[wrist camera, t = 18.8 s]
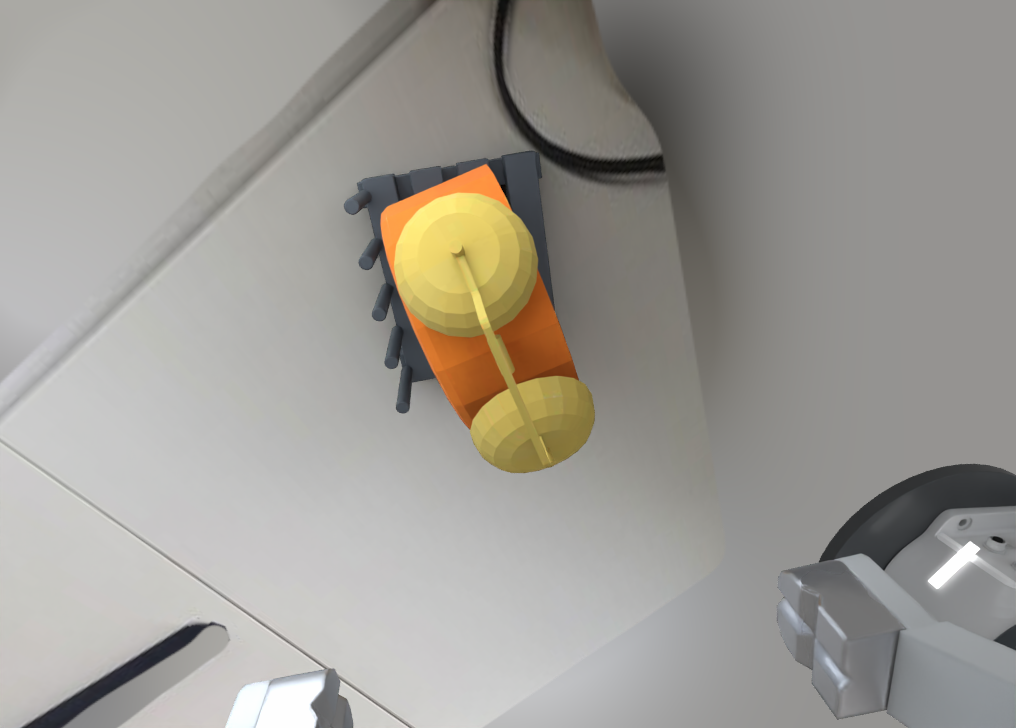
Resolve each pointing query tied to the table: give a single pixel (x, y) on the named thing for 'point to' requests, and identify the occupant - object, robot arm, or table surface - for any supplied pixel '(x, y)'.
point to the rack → (391, 189)
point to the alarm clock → (487, 321)
